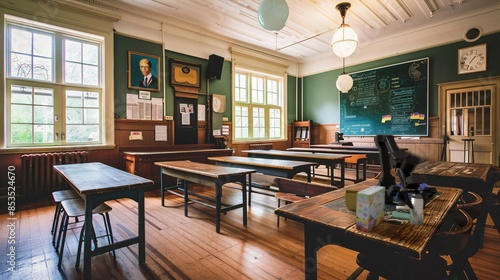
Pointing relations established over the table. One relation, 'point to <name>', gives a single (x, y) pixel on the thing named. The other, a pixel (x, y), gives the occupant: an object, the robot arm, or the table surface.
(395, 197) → the pencil case
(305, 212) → the table surface
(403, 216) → the mat
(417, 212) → the bottle
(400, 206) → the chalk
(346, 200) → the flower pot
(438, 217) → the table surface
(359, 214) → the snack box
